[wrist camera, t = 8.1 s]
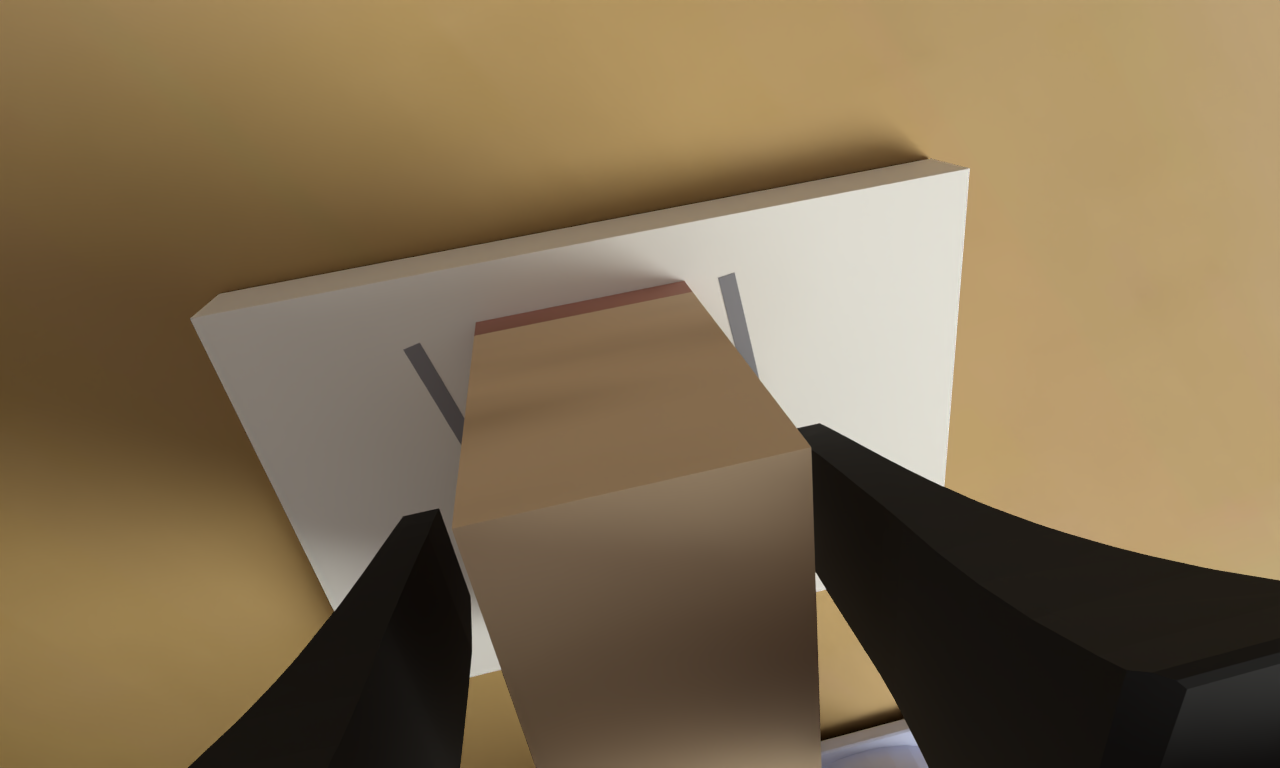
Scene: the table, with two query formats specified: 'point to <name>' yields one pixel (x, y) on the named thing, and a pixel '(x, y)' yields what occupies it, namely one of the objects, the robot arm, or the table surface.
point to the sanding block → (640, 538)
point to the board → (582, 270)
